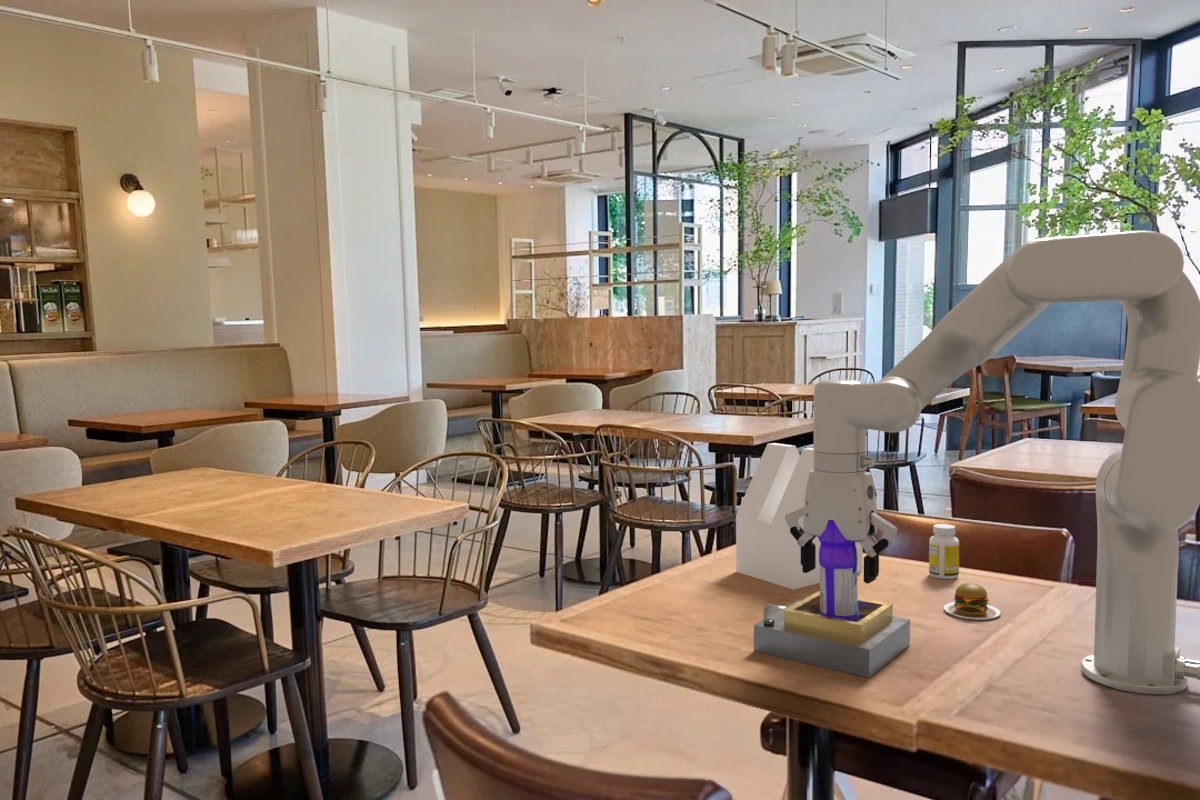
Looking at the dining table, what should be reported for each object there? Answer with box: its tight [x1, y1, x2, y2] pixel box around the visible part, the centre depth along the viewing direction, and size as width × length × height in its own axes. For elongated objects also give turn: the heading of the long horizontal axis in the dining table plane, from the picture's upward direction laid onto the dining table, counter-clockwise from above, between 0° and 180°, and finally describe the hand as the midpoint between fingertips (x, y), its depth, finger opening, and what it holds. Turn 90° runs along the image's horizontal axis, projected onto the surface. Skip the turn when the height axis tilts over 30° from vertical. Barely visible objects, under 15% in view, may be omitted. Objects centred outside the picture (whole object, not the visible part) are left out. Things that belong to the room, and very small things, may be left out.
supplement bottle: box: [928, 523, 960, 580], centre depth 177 cm, size 5×5×10 cm
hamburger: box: [943, 582, 1001, 621], centre depth 155 cm, size 12×12×6 cm
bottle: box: [818, 517, 859, 622], centre depth 137 cm, size 7×6×17 cm
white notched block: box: [735, 442, 864, 590], centre depth 181 cm, size 19×15×25 cm
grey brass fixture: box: [753, 590, 911, 678], centre depth 140 cm, size 22×16×6 cm
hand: (838, 575), depth 138 cm, fingers open, 9 cm apart
